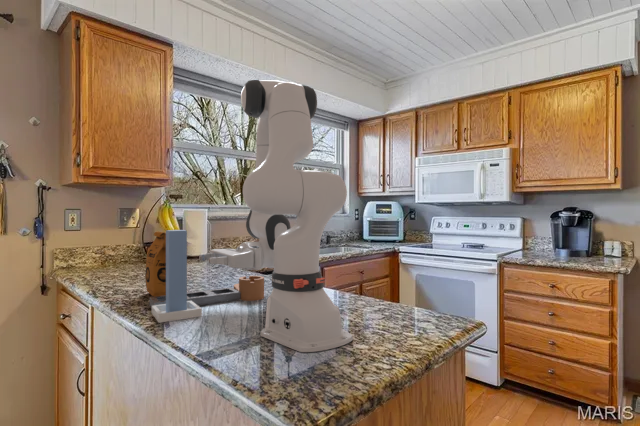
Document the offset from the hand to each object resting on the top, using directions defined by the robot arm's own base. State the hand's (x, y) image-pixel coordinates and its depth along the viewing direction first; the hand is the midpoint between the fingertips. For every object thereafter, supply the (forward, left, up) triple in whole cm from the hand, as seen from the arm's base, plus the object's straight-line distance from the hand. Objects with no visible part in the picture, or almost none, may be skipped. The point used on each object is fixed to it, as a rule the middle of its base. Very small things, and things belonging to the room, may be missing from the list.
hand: (204, 259), depth 106 cm
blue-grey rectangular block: (0, +8, -14) cm, 16 cm away
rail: (+11, -1, -15) cm, 19 cm away
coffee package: (+29, +6, -15) cm, 33 cm away
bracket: (+12, -19, -15) cm, 27 cm away
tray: (0, +8, -15) cm, 17 cm away
